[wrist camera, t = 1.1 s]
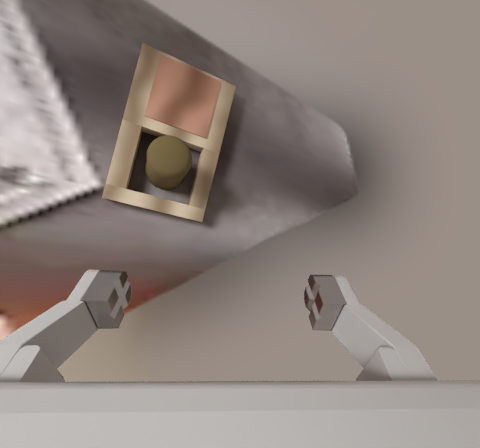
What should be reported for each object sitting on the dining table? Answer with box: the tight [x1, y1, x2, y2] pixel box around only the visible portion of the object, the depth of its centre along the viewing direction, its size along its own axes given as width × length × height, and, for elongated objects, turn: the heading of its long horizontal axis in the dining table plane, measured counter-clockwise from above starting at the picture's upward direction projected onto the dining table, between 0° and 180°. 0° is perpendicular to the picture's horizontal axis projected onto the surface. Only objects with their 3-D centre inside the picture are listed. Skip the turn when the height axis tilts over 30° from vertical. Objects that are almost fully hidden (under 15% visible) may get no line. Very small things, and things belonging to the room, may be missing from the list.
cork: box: [145, 135, 192, 190], centre depth 33 cm, size 6×6×11 cm
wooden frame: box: [102, 43, 236, 222], centre depth 37 cm, size 14×22×3 cm, turn 165°
